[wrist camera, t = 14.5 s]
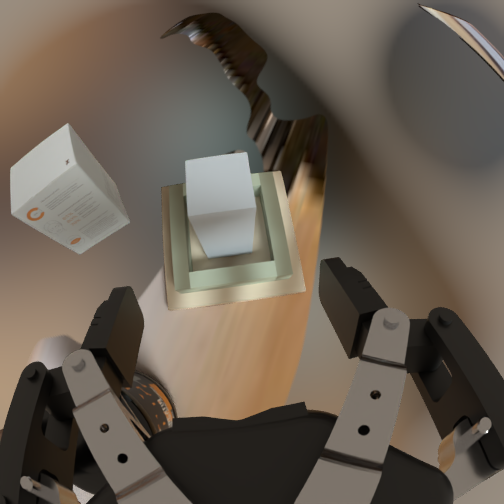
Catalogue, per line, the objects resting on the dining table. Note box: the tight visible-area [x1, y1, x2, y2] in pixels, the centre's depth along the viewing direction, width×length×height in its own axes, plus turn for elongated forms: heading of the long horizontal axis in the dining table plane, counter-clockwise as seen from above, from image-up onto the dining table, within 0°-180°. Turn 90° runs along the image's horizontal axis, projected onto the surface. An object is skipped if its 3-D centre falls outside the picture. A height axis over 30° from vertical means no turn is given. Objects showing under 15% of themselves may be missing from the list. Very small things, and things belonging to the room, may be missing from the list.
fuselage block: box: [185, 152, 256, 259], centre depth 24 cm, size 4×4×11 cm
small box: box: [10, 123, 130, 254], centre depth 24 cm, size 8×6×13 cm
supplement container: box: [41, 371, 178, 495], centre depth 19 cm, size 10×10×12 cm
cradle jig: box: [161, 171, 306, 311], centre depth 28 cm, size 14×14×4 cm
